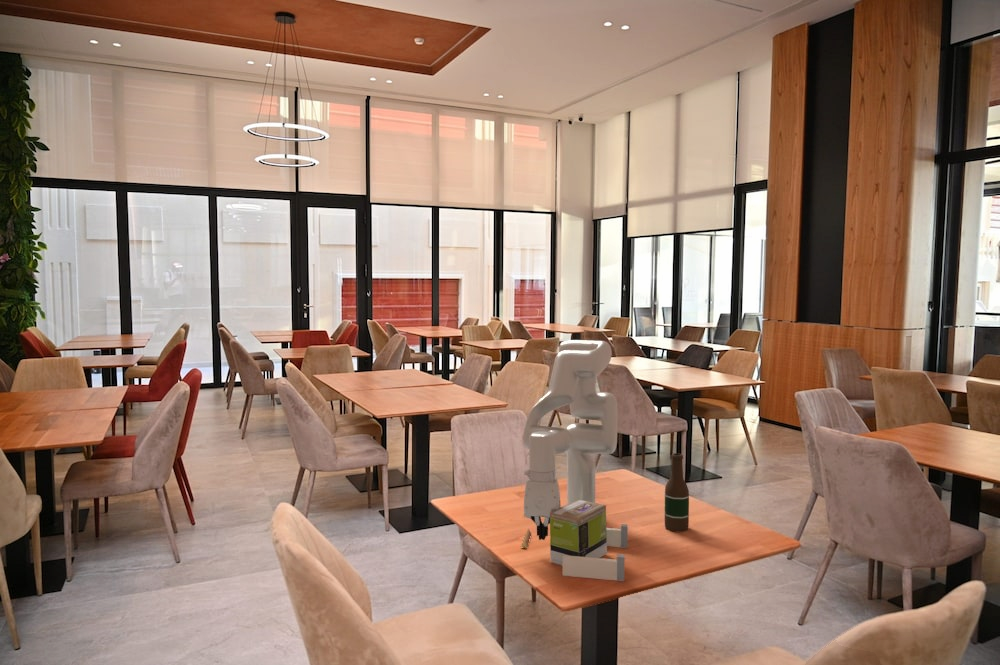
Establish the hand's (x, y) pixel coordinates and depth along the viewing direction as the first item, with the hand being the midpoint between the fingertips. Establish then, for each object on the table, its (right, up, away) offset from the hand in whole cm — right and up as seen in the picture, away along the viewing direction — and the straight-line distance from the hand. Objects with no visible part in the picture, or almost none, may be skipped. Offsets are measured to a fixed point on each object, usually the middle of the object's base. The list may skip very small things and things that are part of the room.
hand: (542, 538), depth 192 cm
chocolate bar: (-4, -5, +12) cm, 13 cm away
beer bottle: (+44, -4, +22) cm, 50 cm away
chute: (+15, -5, -3) cm, 16 cm away
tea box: (+10, -5, -2) cm, 12 cm away
